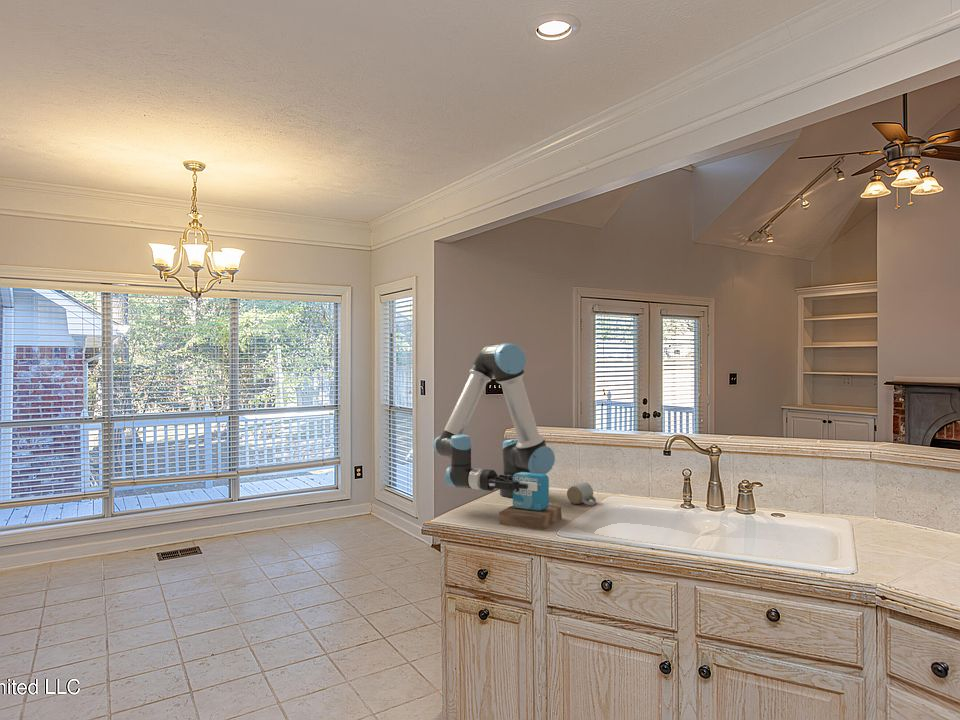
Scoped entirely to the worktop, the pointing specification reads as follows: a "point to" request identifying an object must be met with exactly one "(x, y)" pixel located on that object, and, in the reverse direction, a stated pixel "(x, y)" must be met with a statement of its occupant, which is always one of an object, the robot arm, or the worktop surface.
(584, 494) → the ceramic mug
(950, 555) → the worktop surface
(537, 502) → the data package
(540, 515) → the walnut block
